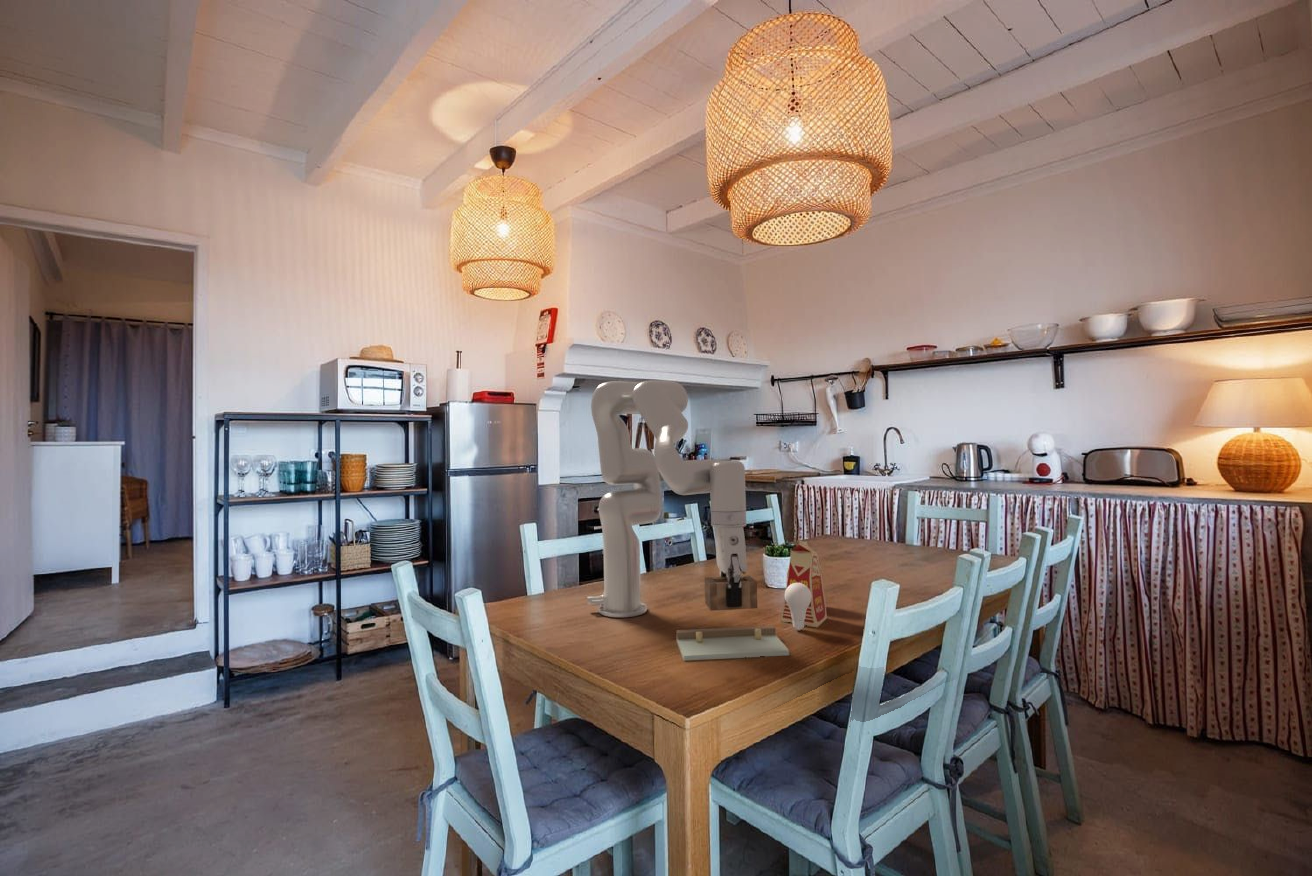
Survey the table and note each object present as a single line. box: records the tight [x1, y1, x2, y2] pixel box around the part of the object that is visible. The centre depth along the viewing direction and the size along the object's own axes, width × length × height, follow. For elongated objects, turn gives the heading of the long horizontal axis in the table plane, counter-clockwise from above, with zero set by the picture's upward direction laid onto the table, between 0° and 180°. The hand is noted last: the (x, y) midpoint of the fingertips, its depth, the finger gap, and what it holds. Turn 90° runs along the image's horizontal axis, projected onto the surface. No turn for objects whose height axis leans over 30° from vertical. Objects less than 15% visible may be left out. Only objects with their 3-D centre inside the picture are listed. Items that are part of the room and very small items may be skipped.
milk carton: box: [780, 539, 828, 628], centre depth 153 cm, size 9×9×20 cm
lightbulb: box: [784, 583, 812, 631], centre depth 145 cm, size 6×6×11 cm
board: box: [675, 625, 790, 662], centre depth 134 cm, size 22×12×3 cm, turn 95°
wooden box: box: [704, 575, 759, 612], centre depth 134 cm, size 10×6×6 cm, turn 95°
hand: (730, 601), depth 134 cm, fingers closed on wooden box, 6 cm apart
